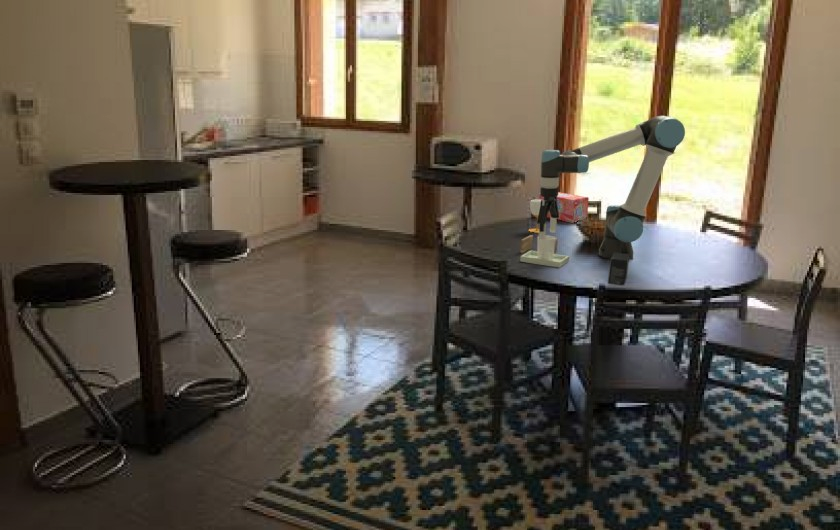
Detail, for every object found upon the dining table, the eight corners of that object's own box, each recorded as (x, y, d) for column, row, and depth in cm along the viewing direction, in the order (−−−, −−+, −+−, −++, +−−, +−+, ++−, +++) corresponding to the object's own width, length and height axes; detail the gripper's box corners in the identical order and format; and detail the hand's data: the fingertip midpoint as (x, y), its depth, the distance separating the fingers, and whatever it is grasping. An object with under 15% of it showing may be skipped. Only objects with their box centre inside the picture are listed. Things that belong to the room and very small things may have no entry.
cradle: (556, 251, 316) (557, 238, 314) (547, 256, 306) (548, 243, 304) (530, 247, 322) (530, 234, 320) (520, 252, 312) (521, 239, 310)
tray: (568, 261, 299) (569, 256, 298) (559, 267, 289) (560, 262, 288) (530, 255, 308) (530, 250, 307) (520, 261, 298) (520, 256, 297)
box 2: (624, 285, 266) (627, 260, 263) (607, 283, 268) (609, 258, 265) (627, 278, 275) (629, 253, 272) (610, 276, 278) (612, 251, 275)
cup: (525, 229, 358) (527, 199, 353) (540, 228, 360) (542, 198, 356) (533, 233, 349) (535, 202, 345) (549, 232, 352) (551, 202, 348)
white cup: (554, 262, 294) (555, 239, 291) (535, 261, 296) (537, 238, 293) (554, 257, 302) (556, 235, 299) (536, 256, 303) (537, 234, 300)
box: (536, 215, 394) (538, 192, 391) (551, 213, 402) (553, 190, 398) (572, 224, 374) (574, 199, 370) (587, 221, 381) (589, 196, 377)
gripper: (551, 182, 302) (549, 228, 307) (530, 190, 281) (528, 240, 287) (567, 183, 298) (565, 230, 304) (547, 192, 277) (545, 242, 283)
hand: (547, 235), depth 295 cm, fingers open, 13 cm apart
